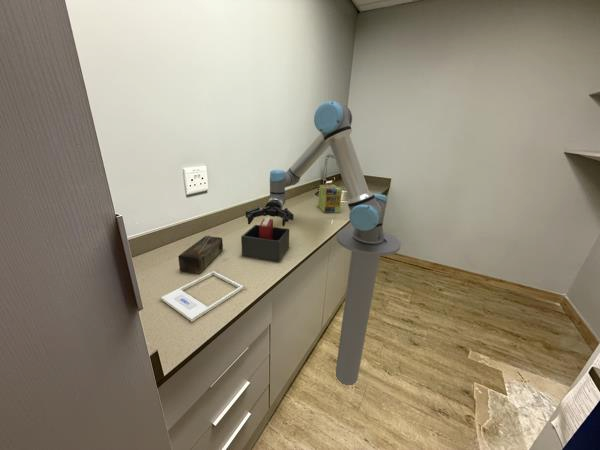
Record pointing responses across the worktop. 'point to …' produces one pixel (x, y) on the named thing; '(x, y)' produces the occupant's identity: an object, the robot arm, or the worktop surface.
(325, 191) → the protein box
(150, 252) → the worktop surface
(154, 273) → the worktop surface
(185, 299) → the photo frame
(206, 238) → the dark brown wooden block
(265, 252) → the bin
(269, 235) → the block
